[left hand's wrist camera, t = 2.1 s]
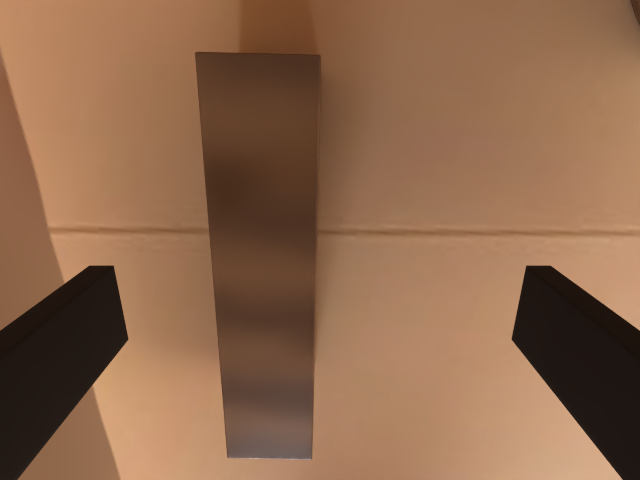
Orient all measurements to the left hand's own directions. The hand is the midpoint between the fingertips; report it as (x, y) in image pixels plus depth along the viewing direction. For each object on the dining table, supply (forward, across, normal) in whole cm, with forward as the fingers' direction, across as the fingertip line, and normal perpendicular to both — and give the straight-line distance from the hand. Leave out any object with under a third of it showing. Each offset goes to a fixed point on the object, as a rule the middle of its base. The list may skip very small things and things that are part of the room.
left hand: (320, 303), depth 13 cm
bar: (+17, -3, -4) cm, 17 cm away
